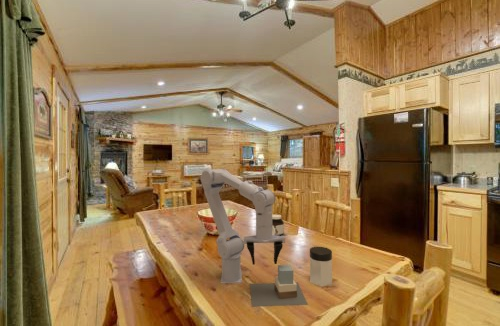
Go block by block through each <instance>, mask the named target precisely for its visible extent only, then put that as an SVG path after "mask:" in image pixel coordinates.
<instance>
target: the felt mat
mask: <svg viewBox="0 0 500 326" xmlns="http://www.w3.org/2000/svg"><path fill="white" fill-rule="evenodd" d="M295 283H296V284H297V297H292V298H285V299H280V298H279V297H278V295H277V293H276V292H275V290H274V284H275V282H273V283H272V282H270V283H267V282H265V283H250V284H249V288H250V290H249V291H250V305H251V307H257V308H258V307H281V306H284V307H285V306H287V307H288V306H309V304H308V301H307V299H306V297H305V295H304V293H303V291H302V289H301V286H300V283H299V282H296V281H295Z"/></svg>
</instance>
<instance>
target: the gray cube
mask: <svg viewBox="0 0 500 326" xmlns="http://www.w3.org/2000/svg"><path fill="white" fill-rule="evenodd" d="M277 277H278V280H279V283H280V284H293V280H294V269H293V267H292V265H291V264H279V265H278V264H277Z"/></svg>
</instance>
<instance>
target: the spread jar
mask: <svg viewBox="0 0 500 326" xmlns="http://www.w3.org/2000/svg"><path fill="white" fill-rule="evenodd" d="M284 232H285V222H284V220H283V219H282V215H281V214H272V235H276V236H280V235H281V236H283V234H284Z"/></svg>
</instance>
